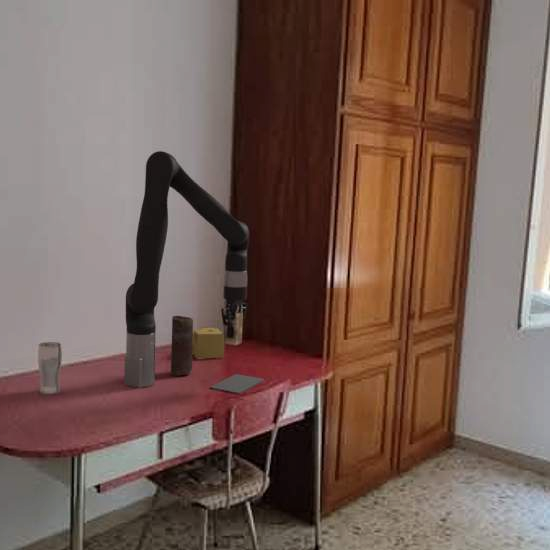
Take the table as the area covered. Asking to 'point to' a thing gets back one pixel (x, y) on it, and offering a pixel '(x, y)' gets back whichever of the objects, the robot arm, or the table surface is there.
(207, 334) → the cheese
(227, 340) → the block
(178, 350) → the brown rough cylinder
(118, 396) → the table surface
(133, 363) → the robot arm
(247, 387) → the mat
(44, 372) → the beer glass
